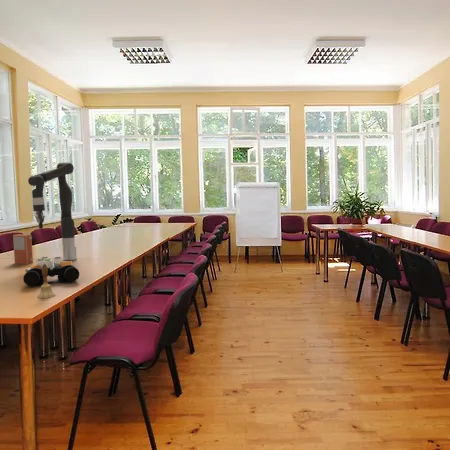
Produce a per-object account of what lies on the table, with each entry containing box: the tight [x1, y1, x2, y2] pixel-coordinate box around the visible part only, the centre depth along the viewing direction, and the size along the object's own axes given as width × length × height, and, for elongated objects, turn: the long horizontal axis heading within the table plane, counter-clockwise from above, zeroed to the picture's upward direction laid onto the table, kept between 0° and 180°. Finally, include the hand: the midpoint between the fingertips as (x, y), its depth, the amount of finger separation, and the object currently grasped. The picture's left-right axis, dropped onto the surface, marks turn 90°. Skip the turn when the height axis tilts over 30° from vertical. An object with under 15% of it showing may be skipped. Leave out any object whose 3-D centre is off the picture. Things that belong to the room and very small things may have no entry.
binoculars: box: [22, 264, 80, 287], centre depth 232 cm, size 29×20×10 cm
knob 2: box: [53, 256, 74, 267], centre depth 274 cm, size 12×5×7 cm, turn 89°
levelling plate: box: [25, 256, 54, 272], centre depth 273 cm, size 24×17×8 cm
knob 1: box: [29, 258, 45, 269], centre depth 264 cm, size 12×5×7 cm, turn 171°
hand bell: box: [37, 264, 56, 299], centre depth 200 cm, size 8×8×16 cm
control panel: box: [12, 233, 34, 265], centre depth 304 cm, size 21×7×15 cm
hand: (41, 228), depth 287 cm, fingers closed
